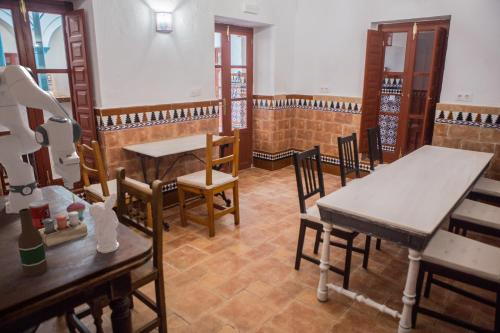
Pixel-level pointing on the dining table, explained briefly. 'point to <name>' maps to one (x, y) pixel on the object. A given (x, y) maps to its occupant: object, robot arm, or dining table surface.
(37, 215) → the canned food
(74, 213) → the white rounded piece
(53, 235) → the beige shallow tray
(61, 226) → the red plug
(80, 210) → the cupcake
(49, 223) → the graphite plug
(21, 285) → the dining table surface
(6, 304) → the dining table surface
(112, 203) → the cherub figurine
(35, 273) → the beer bottle
